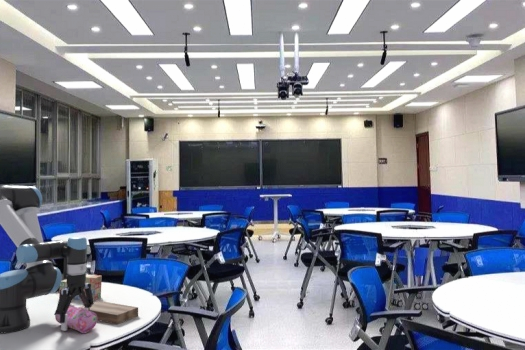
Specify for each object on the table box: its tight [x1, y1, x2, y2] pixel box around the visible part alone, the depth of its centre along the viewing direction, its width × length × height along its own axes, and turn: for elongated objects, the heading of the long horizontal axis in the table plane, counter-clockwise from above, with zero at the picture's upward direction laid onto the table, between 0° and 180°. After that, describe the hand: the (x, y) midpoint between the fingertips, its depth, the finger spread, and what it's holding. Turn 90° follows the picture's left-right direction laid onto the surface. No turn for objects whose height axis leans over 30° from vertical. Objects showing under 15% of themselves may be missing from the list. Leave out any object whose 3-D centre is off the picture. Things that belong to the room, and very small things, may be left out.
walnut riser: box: [77, 300, 139, 325], centre depth 184 cm, size 13×25×4 cm, turn 65°
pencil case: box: [54, 303, 98, 334], centre depth 167 cm, size 21×9×9 cm, turn 51°
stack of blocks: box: [58, 274, 103, 301], centre depth 216 cm, size 21×6×12 cm, turn 81°
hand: (74, 326), depth 167 cm, fingers closed on pencil case, 10 cm apart
